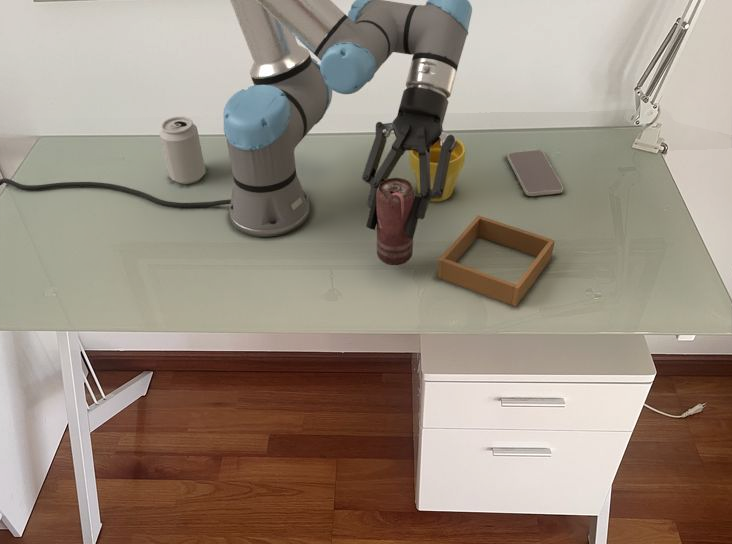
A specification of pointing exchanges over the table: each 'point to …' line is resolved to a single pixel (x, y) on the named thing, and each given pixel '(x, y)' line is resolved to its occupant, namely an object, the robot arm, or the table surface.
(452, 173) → the flower pot
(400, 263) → the can
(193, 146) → the can
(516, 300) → the wooden square frame
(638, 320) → the table surface
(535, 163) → the smartphone
